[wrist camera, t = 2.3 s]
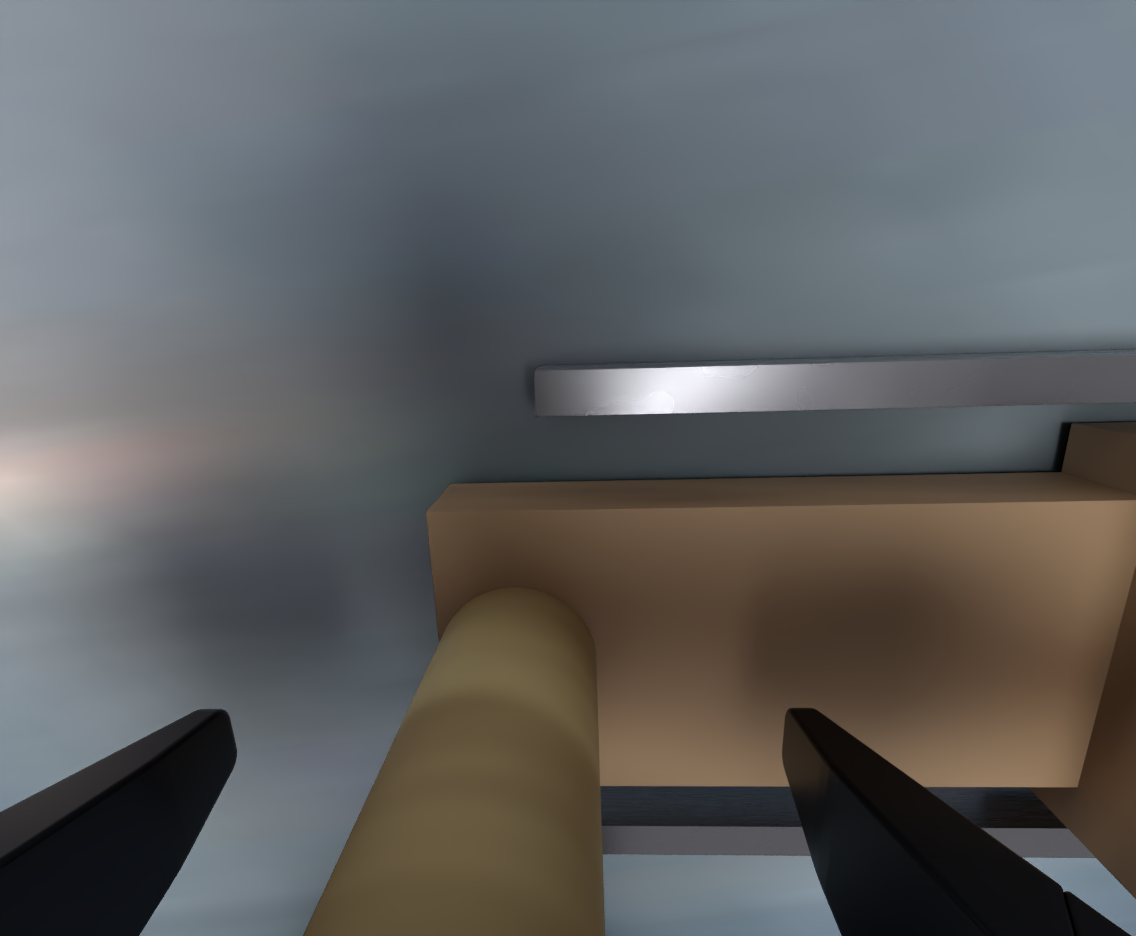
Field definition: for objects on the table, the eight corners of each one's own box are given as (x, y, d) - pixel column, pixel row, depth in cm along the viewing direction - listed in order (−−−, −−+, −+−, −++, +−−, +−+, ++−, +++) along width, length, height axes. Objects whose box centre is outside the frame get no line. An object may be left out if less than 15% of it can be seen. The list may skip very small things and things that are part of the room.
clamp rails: (1347, 799, 13) (1445, 861, 11) (558, 797, 14) (555, 853, 12) (1544, 337, 10) (1706, 339, 9) (540, 365, 11) (533, 371, 9)
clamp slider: (1088, 758, 12) (1853, 1413, 5) (474, 757, 13) (323, 1347, 6) (1177, 421, 10) (2710, 661, 3) (446, 437, 11) (143, 676, 3)
